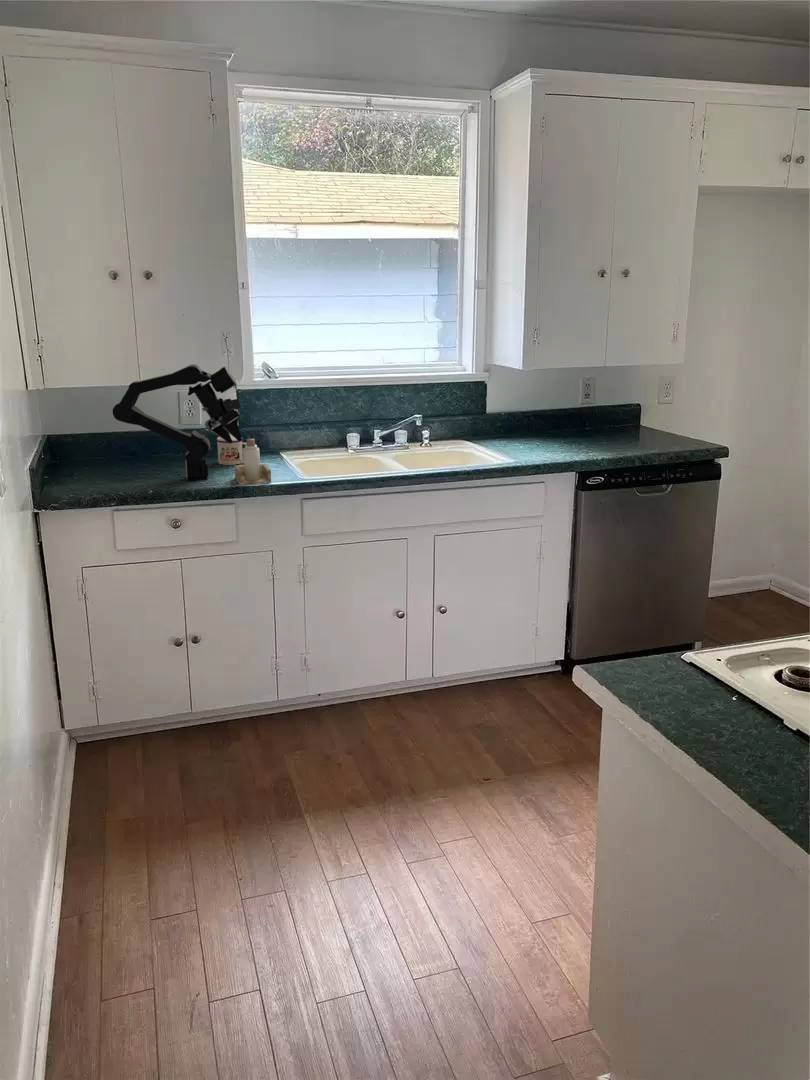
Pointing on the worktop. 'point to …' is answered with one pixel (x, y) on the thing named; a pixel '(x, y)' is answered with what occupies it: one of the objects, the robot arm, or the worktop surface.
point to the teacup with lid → (230, 451)
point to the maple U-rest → (241, 479)
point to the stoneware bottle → (251, 461)
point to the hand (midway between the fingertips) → (236, 441)
